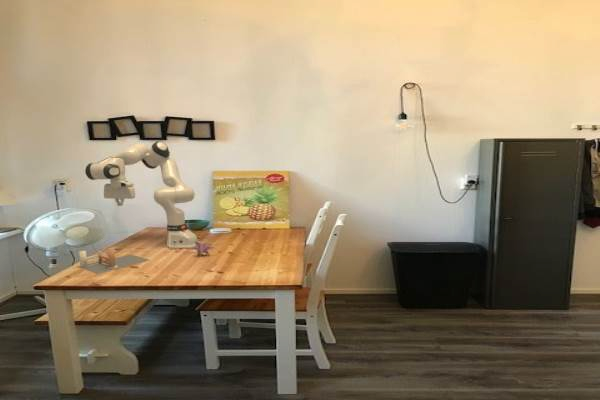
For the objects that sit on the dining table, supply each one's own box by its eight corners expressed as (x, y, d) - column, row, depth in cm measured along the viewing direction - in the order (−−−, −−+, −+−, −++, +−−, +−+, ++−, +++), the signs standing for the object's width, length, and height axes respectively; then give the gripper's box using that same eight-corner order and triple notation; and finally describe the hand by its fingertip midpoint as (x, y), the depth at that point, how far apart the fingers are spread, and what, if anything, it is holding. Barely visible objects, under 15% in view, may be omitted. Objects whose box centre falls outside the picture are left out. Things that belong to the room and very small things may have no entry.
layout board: (150, 260, 217) (150, 259, 217) (97, 274, 194) (97, 273, 194) (130, 255, 230) (130, 254, 230) (78, 267, 207) (78, 266, 207)
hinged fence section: (110, 267, 203) (109, 249, 201) (98, 262, 212) (97, 245, 210) (116, 266, 205) (115, 248, 204) (104, 261, 214) (103, 244, 213)
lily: (216, 257, 225) (216, 242, 229) (202, 254, 215) (202, 238, 219) (201, 261, 230) (200, 246, 234) (186, 259, 220) (187, 243, 224)
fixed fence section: (103, 262, 213) (102, 248, 212) (82, 267, 204) (80, 252, 203) (101, 261, 215) (99, 247, 214) (79, 266, 206) (78, 251, 205)
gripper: (100, 184, 234) (102, 206, 235) (129, 184, 229) (131, 206, 231) (107, 183, 240) (109, 204, 242) (135, 183, 235) (137, 205, 237)
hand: (120, 205), depth 236 cm, fingers closed
